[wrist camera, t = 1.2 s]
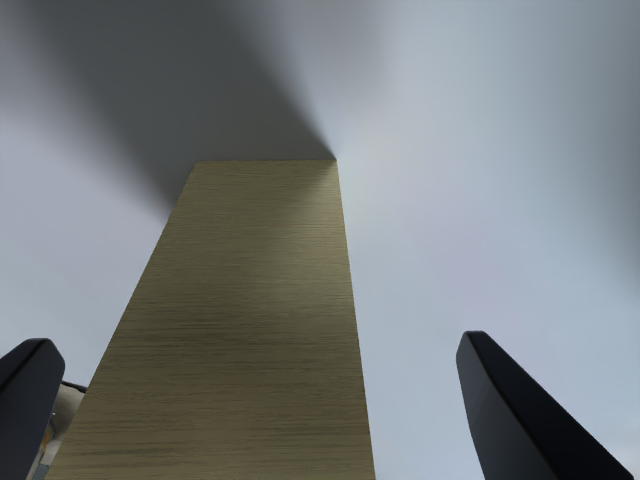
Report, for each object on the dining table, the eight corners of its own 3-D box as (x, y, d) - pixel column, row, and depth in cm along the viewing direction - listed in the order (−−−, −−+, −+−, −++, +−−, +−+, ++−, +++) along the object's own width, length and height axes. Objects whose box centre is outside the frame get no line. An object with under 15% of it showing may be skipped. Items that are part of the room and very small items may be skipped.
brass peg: (336, 159, 12) (381, 530, 4) (333, 264, 14) (359, 612, 7) (196, 161, 11) (14, 541, 4) (218, 266, 14) (123, 619, 7)
